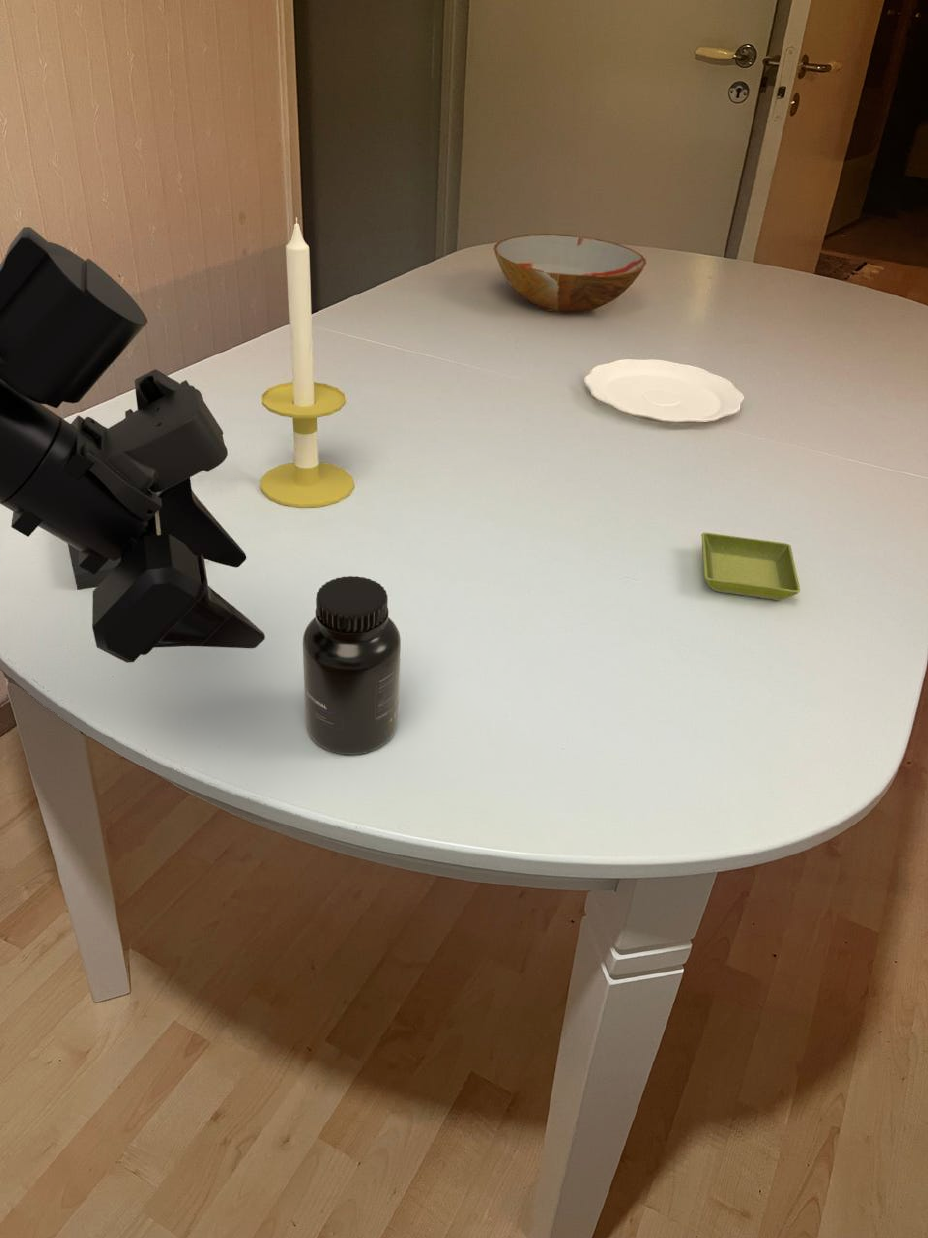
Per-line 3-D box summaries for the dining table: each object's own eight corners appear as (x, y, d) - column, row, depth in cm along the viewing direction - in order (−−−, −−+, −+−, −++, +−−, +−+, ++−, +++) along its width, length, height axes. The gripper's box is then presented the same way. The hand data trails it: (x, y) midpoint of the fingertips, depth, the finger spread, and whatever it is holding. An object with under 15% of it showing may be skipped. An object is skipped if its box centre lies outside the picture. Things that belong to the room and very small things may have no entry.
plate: (551, 388, 125) (553, 376, 124) (655, 360, 136) (657, 349, 135) (668, 446, 112) (671, 433, 111) (771, 410, 124) (775, 398, 123)
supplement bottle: (290, 744, 67) (281, 610, 60) (328, 687, 72) (324, 558, 65) (378, 768, 66) (380, 633, 59) (411, 708, 71) (416, 578, 64)
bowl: (475, 314, 148) (479, 263, 143) (504, 273, 168) (508, 226, 163) (632, 336, 144) (641, 284, 140) (642, 291, 164) (651, 244, 160)
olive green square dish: (795, 610, 85) (801, 592, 84) (699, 597, 86) (704, 578, 85) (784, 561, 92) (790, 543, 91) (696, 549, 93) (701, 531, 92)
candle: (316, 455, 105) (308, 199, 89) (373, 488, 99) (375, 222, 83) (241, 480, 99) (217, 211, 83) (297, 517, 93) (282, 237, 77)
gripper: (126, 425, 41) (369, 596, 51) (119, 295, 56) (309, 448, 65) (-23, 592, 44) (235, 725, 53) (7, 427, 58) (206, 556, 68)
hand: (250, 599), depth 60 cm, fingers open, 9 cm apart
